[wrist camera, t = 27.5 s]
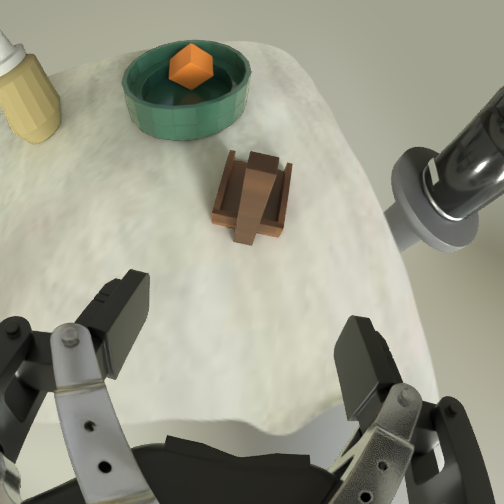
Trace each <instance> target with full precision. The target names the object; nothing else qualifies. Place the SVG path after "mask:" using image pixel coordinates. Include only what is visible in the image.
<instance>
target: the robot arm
mask: <svg viewBox="0 0 504 504" xmlns="http://www.w3.org/2000/svg"><path fill="white" fill-rule="evenodd" d="M420 183H421V188H422V191H423V193H424V196H425V198H426V200H427V201H428V203H429V204H430V206H431V207H432V209H433V210H434V211H435V212H436V213H437V214H438V215H439V216H440V217H442V218H443V219H445V220H447V221H449V222H458V221H460V220H461V219H467V218H469V217H470V216H472V215H473V214H475V213H476V212H478V211H479V210H481V209H482V208H484V207H485V206H486V205H488V204H489V203H491V202H492V201H494V200H495V199H497V198H498V197H499V196H501V195H502V194H504V86H502V87H501V88H500V89H499V90H498V91H497V92H496V94H495V95H494V96H493V97H492V98H491V99H490V100H489V102H488V103H487V104H486V105H485V106H484V107H483V108H482V109H481V110H480V112H479V113H478V114H477V115H476V116H475V117H474V118H473V119H472V120H471V122H470V123H469V124H468V125H467V126H466V127H465V128H464V129H463V130H462V131H461V132H460V133H459V134H458V135H457V136H456V137H455V139H454V140H453V141H452V142H451V143H450V144H449V145H448V146H447V147H446V148H445V149H444V150H443V151H442V152H441V153H440V154H439V155H438V156H437V157H436V158H435V159H434V158H432V159H431V160H430V161H429V162H428V165H427V166H426V167H425V168H424V169H423V170H422V172H421V175H420ZM149 288H150V276H149V274H148V273H145V272H140V271H136V270H133V269H130V270H129V271H128V272H127V274H126V275H125V276H124V277H123V279H122V280H120V279H117V278H116V279H114V280H112V281H110V282H108V283H106V284H105V285H104V286H103V288H102V289H101V290H100V291H99V294H97V295H96V296H95V297H94V300H92V301H91V302H90V303H89V305H88V306H87V307H86V308H85V310H84V311H83V312H82V314H81V315H80V316H79V317H78V319H77V320H76V321H75V323H66V324H62V325H60V326H58V327H57V328H56V329H55V330H54V331H53V332H52V333H48V332H39V331H32V329H31V326H30V324H29V322H28V321H27V320H26V319H25V318H23V317H19V316H13V317H9V318H6V319H5V320H3V321H2V322H1V323H0V504H391V502H392V500H393V498H394V496H395V494H396V492H397V490H398V488H399V486H400V483H401V481H402V479H403V477H404V475H405V481H406V487H407V493H408V500H409V504H495V500H494V495H493V491H492V488H491V484H490V480H489V477H488V473H487V470H486V467H485V464H484V460H483V457H482V454H481V451H480V448H479V445H478V443H477V440H476V437H475V434H474V432H473V429H472V426H471V424H470V421H469V419H468V416H467V414H466V411H465V409H464V407H463V405H462V404H461V403H460V402H459V401H458V400H457V399H455V398H453V397H450V396H446V397H443V398H442V399H441V400H440V401H439V402H438V403H437V404H433V403H429V402H425V401H422V398H421V395H420V394H419V392H418V391H417V390H416V389H415V388H414V387H412V386H410V385H408V384H405V383H403V381H402V378H401V376H400V373H399V371H398V368H397V366H396V364H395V361H394V359H393V358H392V354H391V352H390V351H389V347H388V345H387V343H386V340H385V339H384V338H383V337H382V336H381V335H380V333H379V332H378V331H375V329H374V327H373V325H372V323H371V320H370V319H369V318H366V317H360V316H353V315H352V316H350V317H349V319H348V320H347V322H346V324H345V326H344V328H343V330H342V332H341V334H340V336H339V338H338V340H337V342H336V345H335V348H334V360H335V364H336V368H337V373H338V377H339V382H340V386H341V391H342V396H343V401H344V405H345V410H346V415H347V420H348V421H359V426H358V427H357V429H356V430H355V431H354V433H353V435H352V436H351V438H350V439H349V441H348V443H347V444H346V446H345V447H344V449H343V450H342V451H341V453H340V454H339V456H338V457H337V459H336V460H335V461H334V463H333V464H332V465H331V466H330V467H329V468H328V469H327V470H325V469H323V468H321V467H318V466H316V465H313V464H310V455H297V454H280V453H275V454H268V455H260V456H251V457H236V456H234V455H231V454H228V453H226V452H223V451H220V450H218V449H215V448H212V447H210V446H208V445H206V444H203V443H199V442H194V441H190V440H185V439H181V438H177V437H173V436H168V435H167V437H166V441H165V443H153V444H146V445H140V446H136V447H133V448H131V449H130V447H129V445H128V442H127V440H126V438H125V435H124V433H123V431H122V428H121V426H120V423H119V421H118V418H117V416H116V413H115V410H114V408H113V405H112V402H111V399H110V396H109V394H108V391H107V388H106V385H105V382H104V380H105V378H106V377H108V378H111V379H114V380H116V378H117V376H118V374H119V372H120V370H121V368H122V366H123V364H124V362H125V360H126V358H127V356H128V354H129V352H130V350H131V348H132V346H133V344H134V342H135V340H136V338H137V336H138V334H139V332H140V330H141V328H142V326H143V325H144V323H145V321H146V318H147V315H148V311H149ZM47 392H54V396H55V402H56V407H57V412H58V416H59V420H60V425H61V429H62V432H63V437H64V440H65V444H66V447H67V451H68V454H69V457H70V460H71V463H72V467H73V470H74V472H75V475H76V478H74V479H71V480H69V481H67V482H65V483H63V484H61V485H59V486H57V487H54V488H52V489H50V490H48V491H46V492H43V493H41V494H38V495H36V496H34V497H31V498H29V499H26V500H24V501H22V499H21V496H20V488H21V484H20V483H21V482H20V481H21V479H20V473H19V471H18V469H17V467H16V466H15V463H16V460H17V458H18V455H19V453H20V450H21V448H22V446H23V443H24V441H25V439H26V436H27V434H28V432H29V430H30V427H31V425H32V423H33V421H34V419H35V417H36V414H37V412H38V410H39V408H40V406H41V404H42V402H43V400H44V398H45V396H46V394H47ZM439 443H440V446H441V449H442V453H443V456H444V460H445V464H444V468H443V469H442V471H441V472H440V473H439V469H438V465H437V461H436V457H435V453H434V450H433V448H435V447H436V446H437V445H438V444H439Z"/></svg>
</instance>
